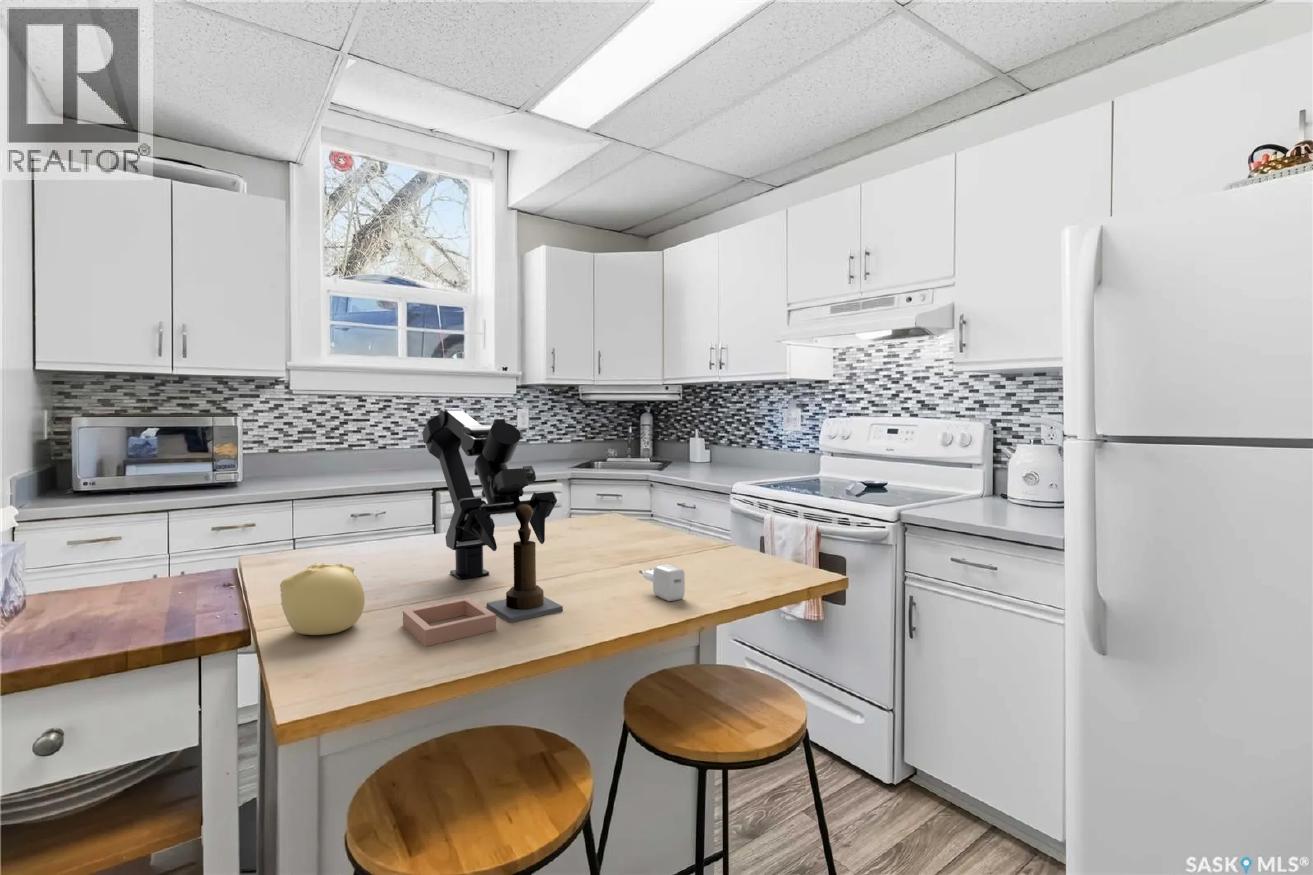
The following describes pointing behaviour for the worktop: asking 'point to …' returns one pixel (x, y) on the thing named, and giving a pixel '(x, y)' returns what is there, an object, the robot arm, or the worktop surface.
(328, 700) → the worktop surface
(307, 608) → the pale yellow round lump
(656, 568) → the power adapter
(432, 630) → the tray
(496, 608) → the mat
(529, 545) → the mortar and pestle
